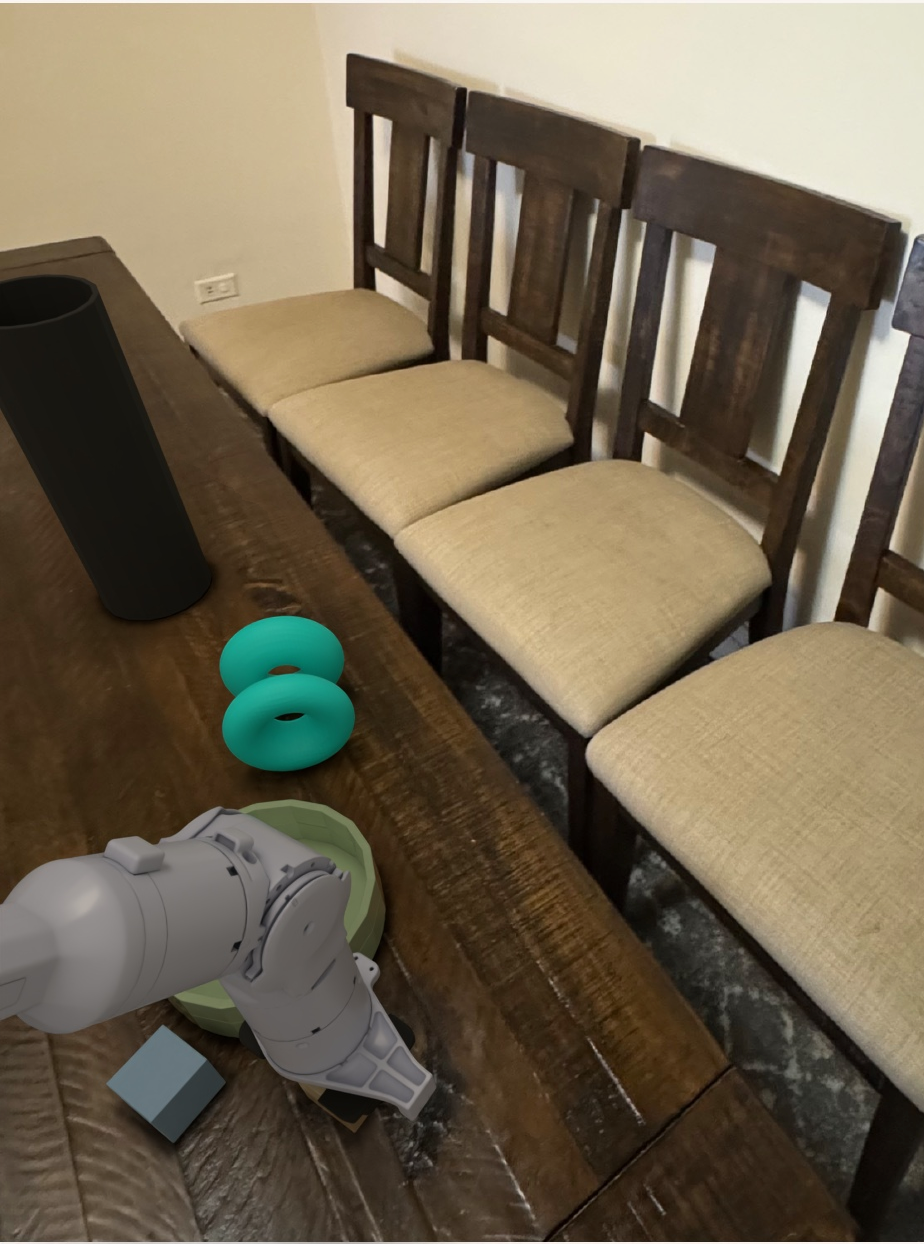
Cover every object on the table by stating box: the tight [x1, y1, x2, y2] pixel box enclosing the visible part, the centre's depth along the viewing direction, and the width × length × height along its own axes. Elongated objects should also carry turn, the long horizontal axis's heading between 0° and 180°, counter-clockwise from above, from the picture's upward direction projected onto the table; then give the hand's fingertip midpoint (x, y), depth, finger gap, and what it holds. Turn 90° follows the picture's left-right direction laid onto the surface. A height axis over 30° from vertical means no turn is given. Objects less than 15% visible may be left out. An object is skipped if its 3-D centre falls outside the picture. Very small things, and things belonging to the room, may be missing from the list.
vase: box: [0, 273, 213, 621], centre depth 77 cm, size 10×10×30 cm
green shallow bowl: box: [167, 798, 387, 1039], centre depth 60 cm, size 15×15×5 cm
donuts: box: [219, 615, 356, 772], centre depth 71 cm, size 10×10×10 cm
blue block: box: [105, 1024, 227, 1144], centre depth 52 cm, size 4×4×4 cm
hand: (349, 1077), depth 53 cm, fingers closed on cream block, 4 cm apart
